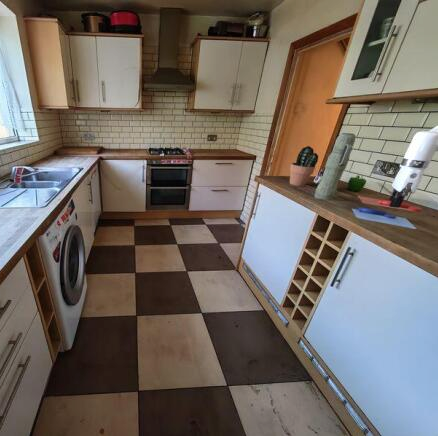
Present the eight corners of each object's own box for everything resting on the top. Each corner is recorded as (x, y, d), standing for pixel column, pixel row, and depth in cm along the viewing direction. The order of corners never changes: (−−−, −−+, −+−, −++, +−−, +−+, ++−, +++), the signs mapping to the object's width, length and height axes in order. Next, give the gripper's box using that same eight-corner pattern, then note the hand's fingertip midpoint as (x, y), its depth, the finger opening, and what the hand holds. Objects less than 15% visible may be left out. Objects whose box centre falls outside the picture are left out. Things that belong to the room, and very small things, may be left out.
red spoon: (418, 208, 98) (420, 204, 97) (422, 212, 94) (425, 207, 93) (375, 202, 104) (378, 198, 103) (378, 205, 101) (380, 201, 100)
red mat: (404, 204, 125) (404, 203, 124) (413, 212, 115) (413, 211, 114) (357, 196, 134) (357, 196, 134) (362, 203, 124) (362, 202, 123)
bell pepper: (353, 188, 149) (360, 173, 145) (364, 192, 141) (372, 177, 137) (341, 188, 149) (347, 173, 144) (352, 192, 141) (359, 176, 137)
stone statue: (321, 201, 125) (347, 134, 110) (309, 194, 135) (331, 132, 120) (338, 202, 124) (366, 134, 109) (324, 195, 135) (348, 132, 120)
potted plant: (284, 184, 153) (295, 146, 142) (286, 180, 163) (297, 144, 152) (308, 188, 146) (322, 148, 135) (309, 183, 156) (322, 146, 145)
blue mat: (405, 219, 106) (405, 218, 106) (416, 230, 96) (417, 229, 96) (351, 209, 116) (351, 208, 115) (356, 218, 105) (356, 217, 105)
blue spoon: (393, 216, 108) (395, 212, 107) (396, 219, 104) (399, 215, 103) (356, 209, 114) (358, 205, 113) (358, 212, 111) (360, 208, 110)
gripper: (437, 168, 84) (411, 214, 92) (419, 161, 96) (398, 201, 104) (408, 166, 87) (386, 210, 95) (395, 159, 100) (376, 198, 108)
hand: (392, 205), depth 100 cm, fingers closed on red spoon, 2 cm apart
